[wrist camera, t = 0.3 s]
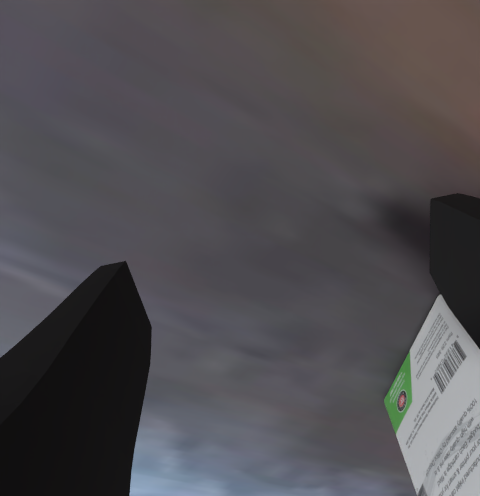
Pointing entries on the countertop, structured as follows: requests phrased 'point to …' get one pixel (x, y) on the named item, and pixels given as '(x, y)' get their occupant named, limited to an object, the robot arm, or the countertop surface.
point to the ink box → (439, 407)
